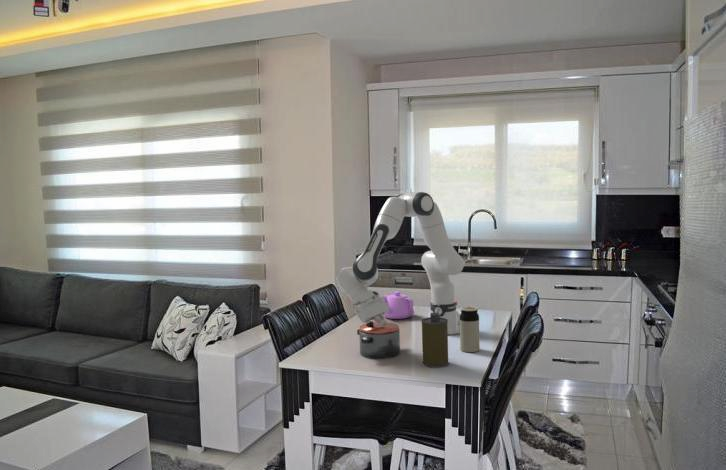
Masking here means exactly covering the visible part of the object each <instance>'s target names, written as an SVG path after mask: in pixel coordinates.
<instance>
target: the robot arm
mask: <svg viewBox="0 0 726 470" xmlns="http://www.w3.org/2000/svg"><path fill="white" fill-rule="evenodd" d="M405 217H408V218H410V217H412V218H413V217H417V218H418V222H419V226H420V229H421V234H422V237H423V241H424V243H425V245H426V246H427V247H428V248H429V249H430V250H427V251H424V253H423V254H422V256H421V260H420V264H421V266H422V268H423V269H424V270H425V273H426V275H427V277H428V281H429V285H430V296H431V297H430V299H431V301H430V305H429V306H430V311H429V312H428V314H427V318H429V317H430V315H431V313H439V315H440V316H439V317H441V318H446V319H448V322H447V326H448V336H449V335H456V334H457V335H458V334H459V335H460V314H461V313H460V312H459V311H458V310H457V306H458V301H457V300H455V286H454V283H452V281H451V279H450V277H449V276H454V275H455V276H456V275H459V274H460V273H461V272H462V271H463V269H464V267H465V263H464V262H465V261H464V259H463V257H462V256H461V255H460V254H459V253H458V252H457V250H456V249H455V248H454V246H453V244H452V243H451V241H450V239H449V236H448V233H447V230H446V227H445V222H444V218H443V215H442V212H441V209H440V208H439V205H438V204H437V203H436V202H435V201H434V199H433V197H432V196H431V195H430V194H429V193H427V192H423V191H421V192H416V191H415V192H414V191H413V192H409V193H401V194H398V195H396V196H390V197H388V198H387V199H386V201H385V203H384V204H383V206H382V207H381V209H380V211H379V212H378V215H377V218H376V220H375V223H374V226H373V230H372V234H371V236H370V237H369V240H368V242H367V244H366V246H365V248H364V250H363V251H362V253H361V254H360V255H358V257H357V258H356V259H355V260H354V262H353V265H352V266H349V267H347V266H344V267H343V268H342V269H340V270H339V272H338V273H337V274H336V279H335V280H336V284H337V286H338V287H339V288H340V290H341V292H342V293H344V294H345V295H346V296H347V297H348V298H349V299H350V301H351V303H352V308H353V310H354V313H355V315H356V316H357V317H358V319H359V320H360V322H361V323H363V324H366V322H368V321H372V320H374V321H373V322H377V323H379V324H380V325H381V326H383V325H386V323H387V322H388V321H387V320H386V317H385V316H384V314H386V313H387V312H388V311H389V310H390V309H389V306H388V305H387V303H386V302H385V301H384V300H383V299H382V297H381V296H380V293H379V292H378V291H374V290H370V289H369V288H368V287H369V286H371V285H373V284H374V283H376V282H377V280H378V278H379V269H378V265H377V264H378V257H379V255H380V253H381V251H382V248H383V246H384V245H385V243H386V242H387V241H388V240H392V239H394V238H395V237H396V236H397V234H398V232H399V230H400V229H401V226H402V224H403V221H404V218H405Z"/></svg>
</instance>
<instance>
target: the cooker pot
mask: <svg viewBox="0 0 726 470" xmlns="http://www.w3.org/2000/svg"><path fill="white" fill-rule="evenodd" d="M356 331H357V332H356V333H357V335H358V336H359V337H358V339H359V355H360V356H361V357H364V358H367V359H373V360H374V359H375V360H378V359H380V360H384V359H391V358H395V357H397V356H399V355H400V354H401V339H400V338H401V337H400V329H399V330H398V331H397V332H394V333H390V334H381V335H374V334H366V333H362V332H361V331H360V328H359V329H357V330H356Z"/></svg>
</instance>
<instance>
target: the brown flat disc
mask: <svg viewBox="0 0 726 470" xmlns="http://www.w3.org/2000/svg"><path fill="white" fill-rule="evenodd" d="M359 329H360V331H361V332H362V333H366V334H374V335H381V334H390V333H394V332H397V331H398V330H399V331H400V325H398V324H397V323H393V322H389V321H387V323H386V325H383V326H381V325H380V324H379V323H377V322H376V321H372V320H371V321H368V322H366V323H363V324H361V325H359Z"/></svg>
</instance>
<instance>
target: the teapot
mask: <svg viewBox="0 0 726 470" xmlns="http://www.w3.org/2000/svg"><path fill="white" fill-rule="evenodd" d="M380 297H381V298H382V299H383V300H384V301H385V302H386V303H387V305H388V306H389V309H390V310H389V311H388V312H387V313H386V314H384V318H385V319H386V318H387V319H394V320H403V319H408V318H411V316H414V315H415V313H416V312H415V310H414V299H412V298H411V297H408V296H407V295H406V294H402V293H401V291H394V292H393V294H384V296H380Z"/></svg>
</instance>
